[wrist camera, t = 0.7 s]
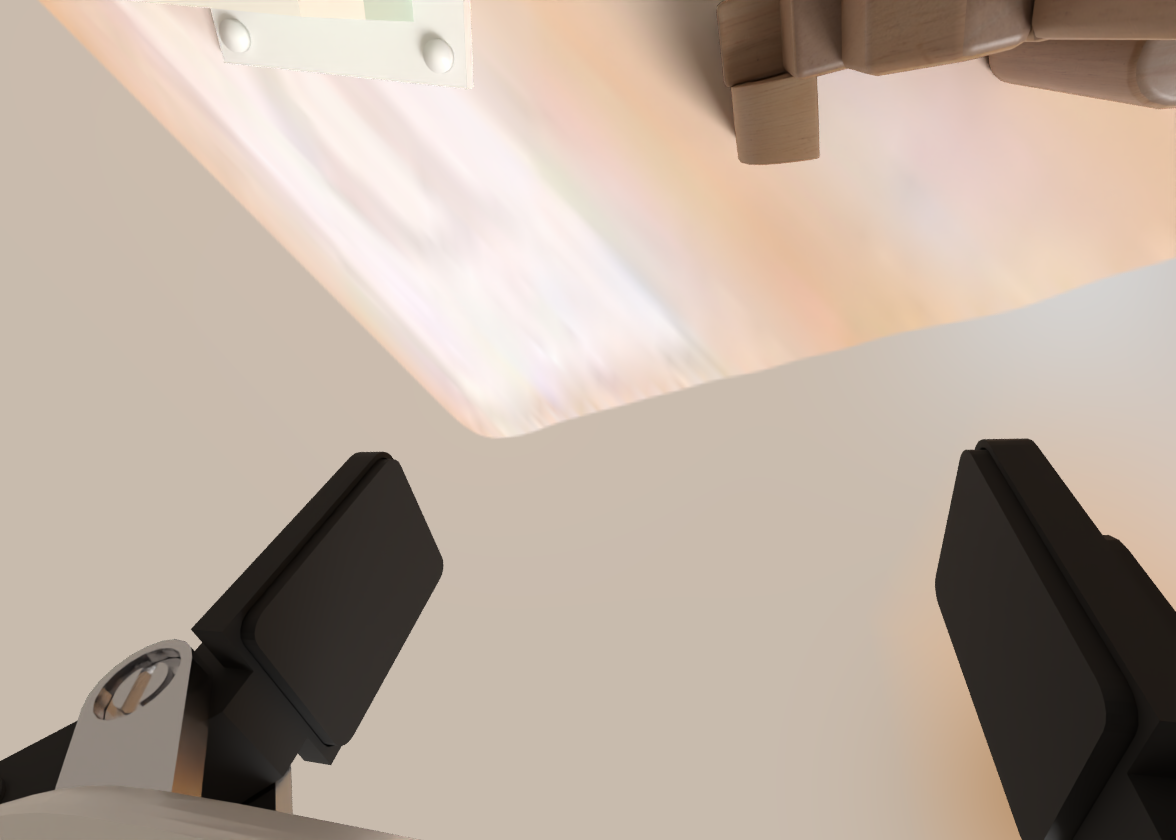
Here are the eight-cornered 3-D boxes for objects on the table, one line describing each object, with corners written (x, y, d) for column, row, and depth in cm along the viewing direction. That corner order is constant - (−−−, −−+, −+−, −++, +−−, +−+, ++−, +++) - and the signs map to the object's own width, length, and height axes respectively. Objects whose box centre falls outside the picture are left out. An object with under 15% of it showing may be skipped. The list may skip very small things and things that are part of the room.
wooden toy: (734, 148, 32) (726, 335, 12) (719, 9, 29) (675, -54, 9) (1058, 73, 27) (1949, 174, 7) (1086, -105, 24) (2895, -841, 4)
